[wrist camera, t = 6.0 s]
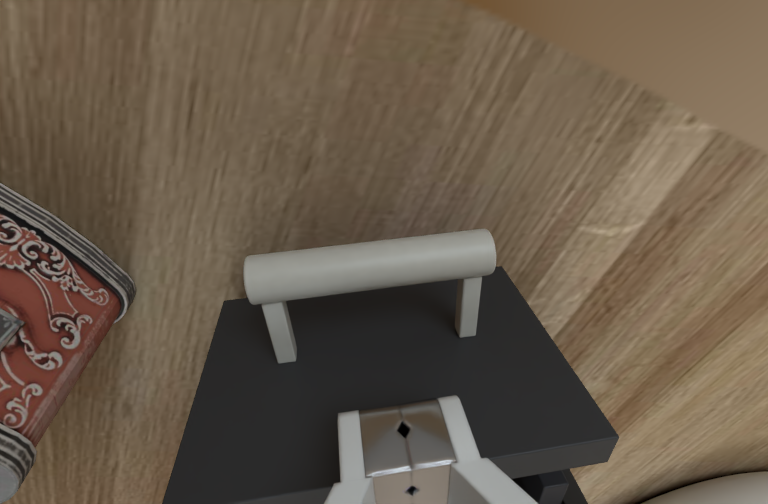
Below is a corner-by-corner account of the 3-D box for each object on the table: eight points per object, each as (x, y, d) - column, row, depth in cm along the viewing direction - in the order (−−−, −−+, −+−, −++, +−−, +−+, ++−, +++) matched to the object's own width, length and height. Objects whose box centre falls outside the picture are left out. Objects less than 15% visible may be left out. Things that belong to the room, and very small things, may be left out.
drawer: (192, 212, 13) (77, 412, 7) (514, 178, 15) (674, 325, 8) (286, 479, 23) (274, 669, 16) (476, 447, 24) (535, 614, 18)
